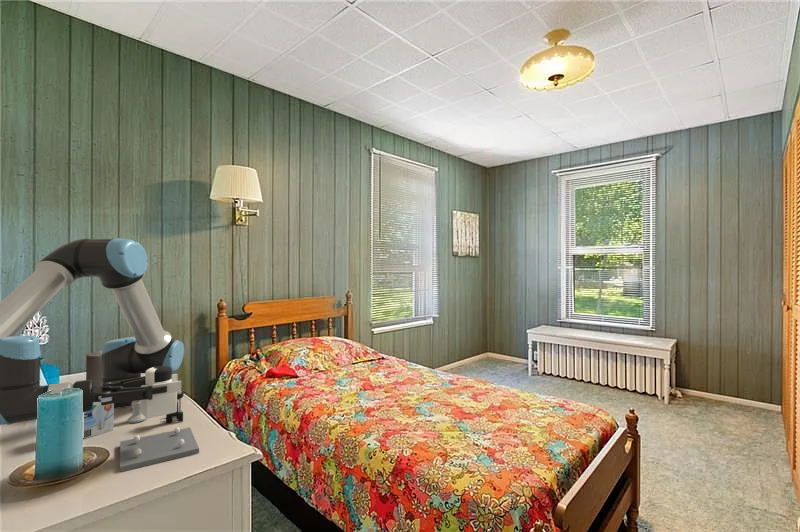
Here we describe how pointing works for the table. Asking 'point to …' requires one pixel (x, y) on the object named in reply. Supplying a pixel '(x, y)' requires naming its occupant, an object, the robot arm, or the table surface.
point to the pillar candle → (94, 368)
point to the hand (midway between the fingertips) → (179, 382)
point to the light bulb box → (98, 419)
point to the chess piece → (136, 413)
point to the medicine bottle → (159, 402)
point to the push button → (177, 415)
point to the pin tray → (157, 448)
